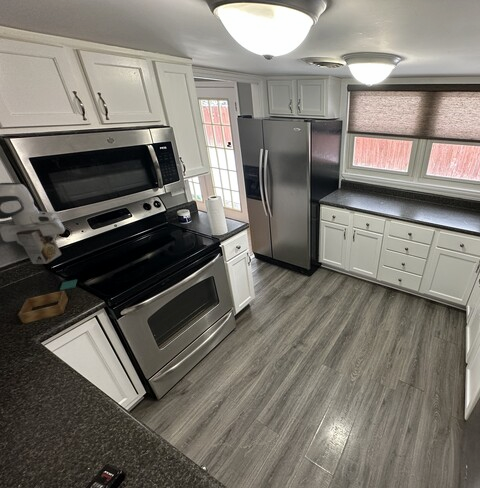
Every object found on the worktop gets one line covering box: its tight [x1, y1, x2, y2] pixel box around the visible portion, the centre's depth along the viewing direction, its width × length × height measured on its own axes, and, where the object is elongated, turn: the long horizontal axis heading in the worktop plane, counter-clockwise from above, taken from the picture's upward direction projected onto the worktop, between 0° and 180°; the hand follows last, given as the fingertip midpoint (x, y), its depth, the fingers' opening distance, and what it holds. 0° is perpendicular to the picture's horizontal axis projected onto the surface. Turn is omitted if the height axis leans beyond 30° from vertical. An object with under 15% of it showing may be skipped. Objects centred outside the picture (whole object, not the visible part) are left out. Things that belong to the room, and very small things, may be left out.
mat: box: [59, 279, 78, 291], centre depth 141 cm, size 6×8×1 cm
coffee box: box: [16, 229, 62, 265], centre depth 124 cm, size 9×6×16 cm
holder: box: [17, 290, 69, 324], centre depth 122 cm, size 13×13×5 cm
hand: (41, 245), depth 124 cm, fingers closed on coffee box, 8 cm apart
